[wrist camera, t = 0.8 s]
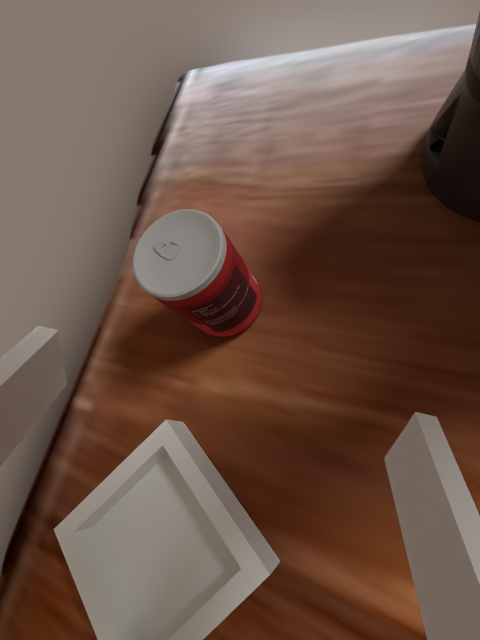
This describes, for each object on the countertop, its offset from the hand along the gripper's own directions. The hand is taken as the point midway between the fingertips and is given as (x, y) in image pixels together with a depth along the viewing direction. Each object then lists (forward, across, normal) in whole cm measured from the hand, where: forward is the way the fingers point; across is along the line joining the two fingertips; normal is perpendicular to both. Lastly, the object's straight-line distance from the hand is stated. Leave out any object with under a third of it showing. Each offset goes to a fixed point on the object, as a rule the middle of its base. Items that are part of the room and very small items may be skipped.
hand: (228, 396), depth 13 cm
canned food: (+22, -2, -9) cm, 24 cm away
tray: (+5, -2, -24) cm, 24 cm away
